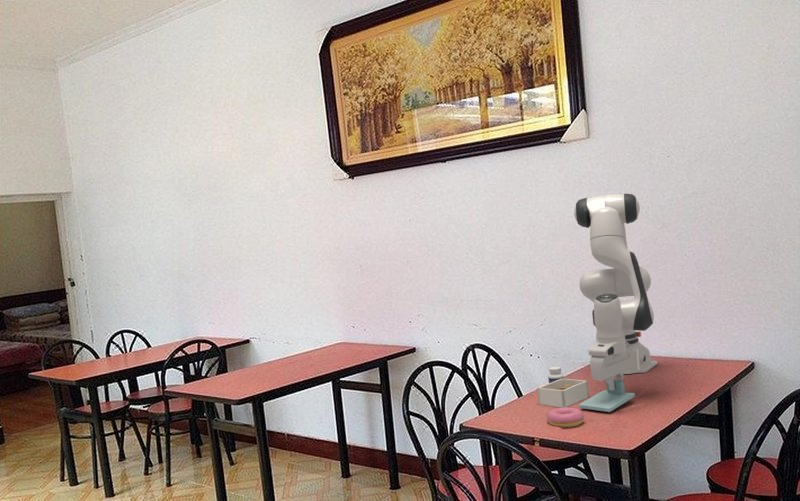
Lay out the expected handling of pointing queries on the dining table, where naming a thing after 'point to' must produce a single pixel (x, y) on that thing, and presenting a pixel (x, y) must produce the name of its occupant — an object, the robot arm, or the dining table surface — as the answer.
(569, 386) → the block
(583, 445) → the dining table surface
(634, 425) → the dining table surface
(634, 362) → the robot arm
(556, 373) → the pill bottle
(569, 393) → the tub
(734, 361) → the dining table surface
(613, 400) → the lid
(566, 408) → the doughnut
